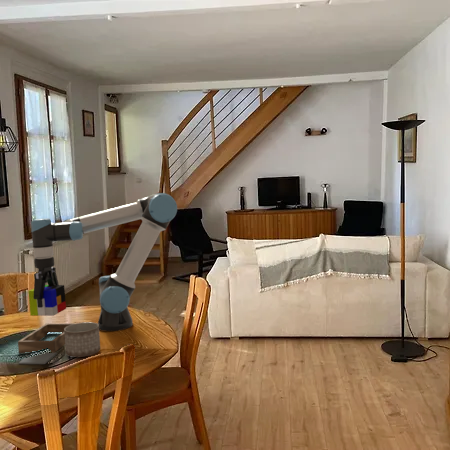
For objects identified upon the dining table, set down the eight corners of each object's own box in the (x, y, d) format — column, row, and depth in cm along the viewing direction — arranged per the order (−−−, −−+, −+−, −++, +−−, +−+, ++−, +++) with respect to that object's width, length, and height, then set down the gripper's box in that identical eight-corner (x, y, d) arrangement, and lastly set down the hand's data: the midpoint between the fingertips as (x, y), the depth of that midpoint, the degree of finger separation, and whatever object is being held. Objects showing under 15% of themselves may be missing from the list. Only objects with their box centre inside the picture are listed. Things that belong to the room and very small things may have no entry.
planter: (68, 362, 182) (66, 334, 181) (64, 351, 194) (62, 325, 193) (103, 355, 187) (101, 328, 186) (97, 345, 199) (95, 320, 198)
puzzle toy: (53, 315, 198) (51, 290, 197) (30, 315, 200) (28, 290, 199) (66, 308, 207) (64, 285, 206) (44, 308, 209) (42, 285, 208)
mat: (57, 354, 191) (57, 352, 191) (44, 364, 181) (44, 362, 181) (32, 354, 192) (32, 352, 192) (18, 364, 182) (18, 362, 182)
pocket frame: (46, 333, 217) (46, 323, 217) (78, 333, 215) (78, 323, 215) (18, 352, 194) (17, 341, 194) (54, 353, 192) (53, 341, 192)
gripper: (48, 252, 213) (52, 303, 215) (20, 262, 190) (25, 319, 193) (65, 252, 212) (69, 303, 214) (39, 262, 189) (44, 319, 192)
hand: (48, 311), depth 203 cm, fingers closed on puzzle toy, 10 cm apart
